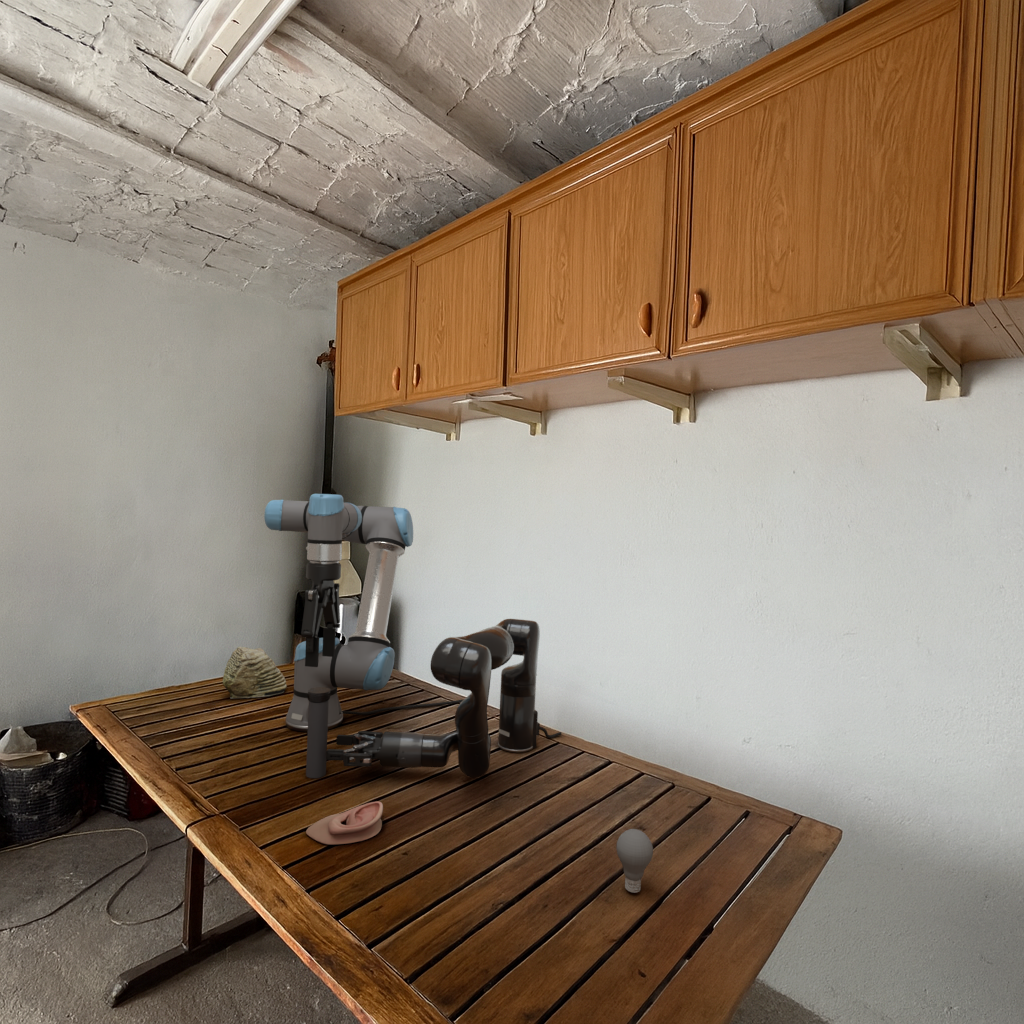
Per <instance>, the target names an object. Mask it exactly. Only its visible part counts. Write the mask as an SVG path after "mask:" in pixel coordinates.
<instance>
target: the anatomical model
mask: <svg viewBox="0 0 1024 1024" xmlns="http://www.w3.org/2000/svg"><path fill="white" fill-rule="evenodd" d="M383 813H384V804H383V803H382V802H381V801H377V800H376V801H371V802H367V803H364V804H361V805H358V806H355V807H353V808H351V809H349V810H346V811H344V812H341V813H336V814H331V815H328V816H326V817H323V818H321V819H319V820H318V821H315V823H313V824H311V825H310V826H309V827H307V829H306V831H305V833H306V835H307V836H308V837H310V838H311V839H313V840H315V841H317V842H318V843H321V844H323V845H333V846H335V845H344V844H345V845H346V844H352V843H357V842H363V841H365V840H368V839H371V838H373V837H374V836H376V835H378V834H379V833H380V832H381V829H382V827H383V821H382V815H383Z"/></svg>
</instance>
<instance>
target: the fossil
mask: <svg viewBox="0 0 1024 1024" xmlns="http://www.w3.org/2000/svg"><path fill="white" fill-rule="evenodd" d="M222 676H223V677H222V685H223V687H224V688H225V690H226V691H228V693H229V698H230V699H250V698H264V697H271V696H275V695H281V694H284V693H285V691H286V689H287V687H288V686H287V680H286V678H285V676H284V674H283V673H282V672H281V669H279V668H278V667H277V665H276V663H275V662H274V660H273V659H272V658H271V657H270V656H269V655H268V654H267V653H266V652H265V650H264V649H263V648H260V647H258V648H251V647H247V646H246V647H245V646H238V647H237V648H236V649H235V650H233V651H232V653H231V656H230V657H229V659H228V660H227V663H226V666H225V668H224V671H223V675H222Z"/></svg>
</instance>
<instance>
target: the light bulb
mask: <svg viewBox="0 0 1024 1024" xmlns="http://www.w3.org/2000/svg"><path fill="white" fill-rule="evenodd" d="M615 849H616V854H617V857H618V859H619V861H620V863H621V865H622V867H623V873H624V874H623V875H624V876H625V878H624V888H625V890H627V891H628V892H630V893H634V894H635V893H639V892H640V891H641V889H642V887H641V886H642V879H643V877H644V875H645V871H646V868H647V867H648V866H649V864H650V863H651V861H652V859H653V855H654V847H653V843H652V841H651V838H649V836H648V835H647V834H646V833H645V832H643V831H642V830H641V829H636V828H629V829H627V830H625V831H623V832H622V833H621V834H620V835H619V837H618V839H617V841H616V847H615Z"/></svg>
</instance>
